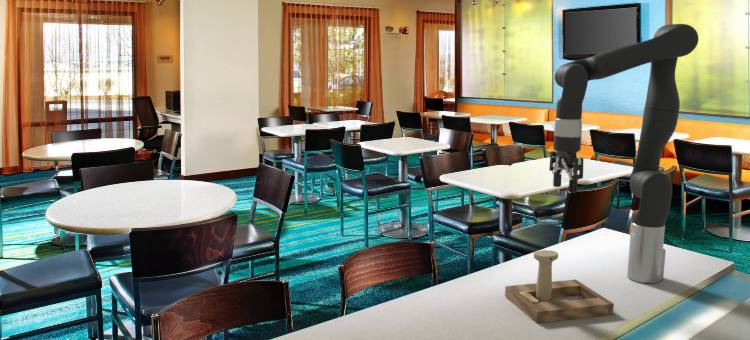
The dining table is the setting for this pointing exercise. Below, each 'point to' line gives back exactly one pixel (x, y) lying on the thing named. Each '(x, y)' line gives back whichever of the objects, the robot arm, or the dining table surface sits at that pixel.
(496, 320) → the dining table surface
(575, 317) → the square wooden frame
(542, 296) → the handle
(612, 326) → the dining table surface
